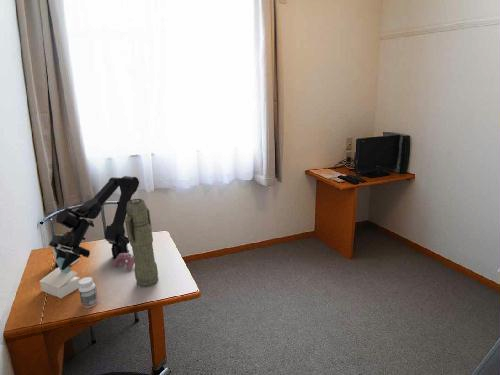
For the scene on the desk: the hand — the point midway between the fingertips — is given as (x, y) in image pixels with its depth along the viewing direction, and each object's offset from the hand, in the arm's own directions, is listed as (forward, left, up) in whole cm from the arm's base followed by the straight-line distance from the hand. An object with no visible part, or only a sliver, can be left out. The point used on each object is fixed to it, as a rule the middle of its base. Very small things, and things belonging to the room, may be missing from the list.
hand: (59, 268), depth 140 cm
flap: (0, +1, -4) cm, 4 cm away
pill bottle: (-14, +15, -9) cm, 22 cm away
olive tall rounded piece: (-34, +5, -9) cm, 35 cm away
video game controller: (-23, -11, -9) cm, 27 cm away
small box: (+4, -23, -9) cm, 25 cm away
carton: (0, +1, -9) cm, 9 cm away
